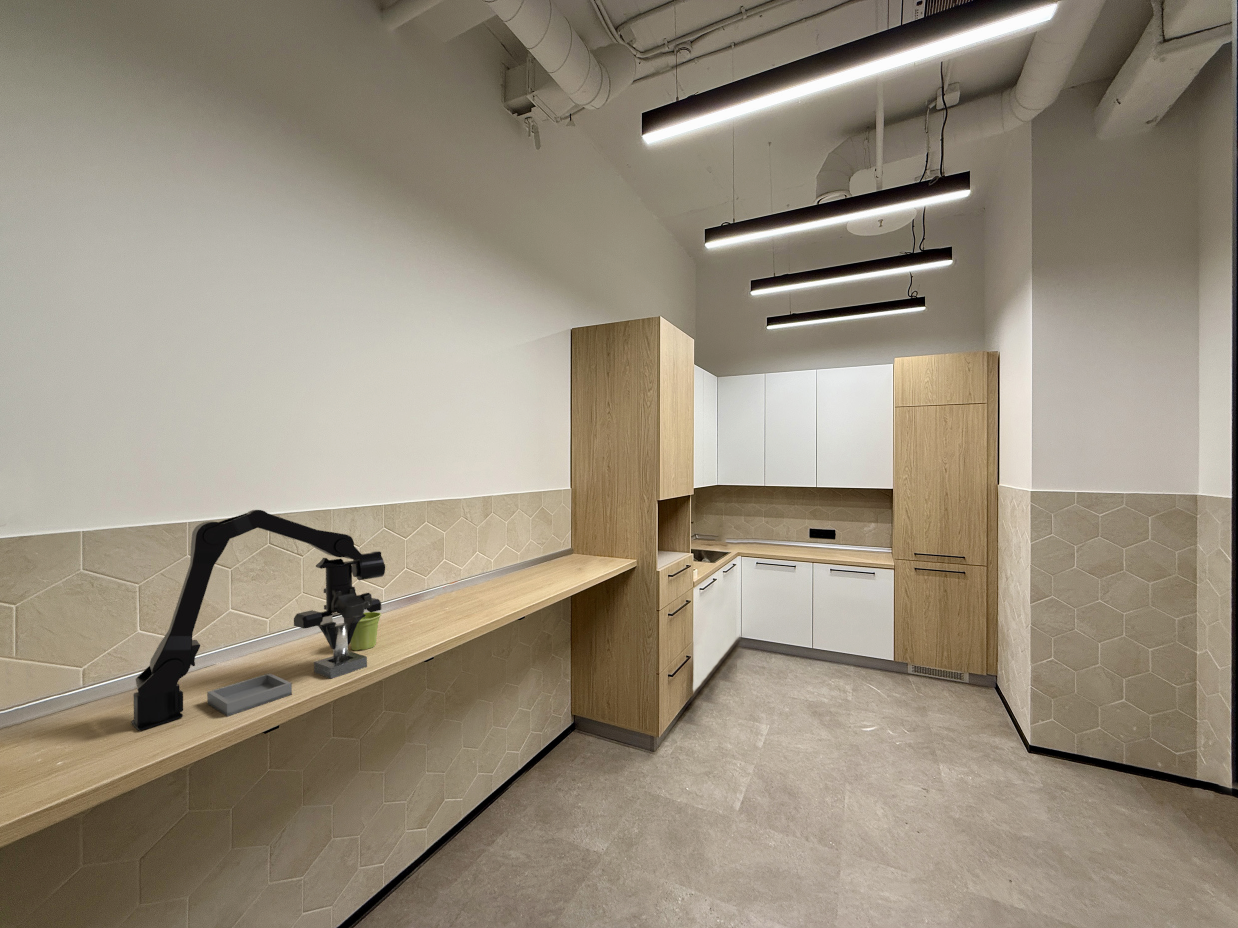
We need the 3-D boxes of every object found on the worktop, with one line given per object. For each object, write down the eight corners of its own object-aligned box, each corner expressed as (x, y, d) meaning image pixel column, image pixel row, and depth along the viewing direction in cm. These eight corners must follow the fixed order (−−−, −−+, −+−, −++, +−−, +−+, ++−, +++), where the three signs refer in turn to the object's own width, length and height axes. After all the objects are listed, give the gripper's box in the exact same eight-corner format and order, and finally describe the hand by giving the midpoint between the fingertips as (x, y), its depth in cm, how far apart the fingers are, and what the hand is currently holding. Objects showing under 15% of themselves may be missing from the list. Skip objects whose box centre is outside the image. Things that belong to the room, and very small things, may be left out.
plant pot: (356, 655, 133) (356, 622, 133) (337, 650, 138) (336, 618, 138) (388, 644, 141) (388, 613, 141) (369, 640, 145) (368, 610, 146)
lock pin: (337, 664, 120) (336, 627, 121) (331, 662, 122) (330, 625, 122) (350, 660, 123) (349, 623, 123) (344, 657, 125) (343, 622, 125)
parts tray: (227, 716, 99) (227, 703, 99) (207, 703, 105) (207, 691, 105) (291, 694, 108) (291, 682, 108) (269, 683, 115) (269, 672, 115)
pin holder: (331, 678, 116) (330, 668, 116) (314, 671, 121) (313, 661, 121) (367, 666, 123) (366, 656, 124) (349, 660, 128) (349, 650, 128)
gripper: (313, 594, 111) (315, 664, 110) (392, 579, 126) (394, 640, 126) (292, 590, 117) (293, 656, 117) (369, 576, 133) (370, 634, 132)
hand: (340, 646), depth 123 cm, fingers closed on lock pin, 3 cm apart
